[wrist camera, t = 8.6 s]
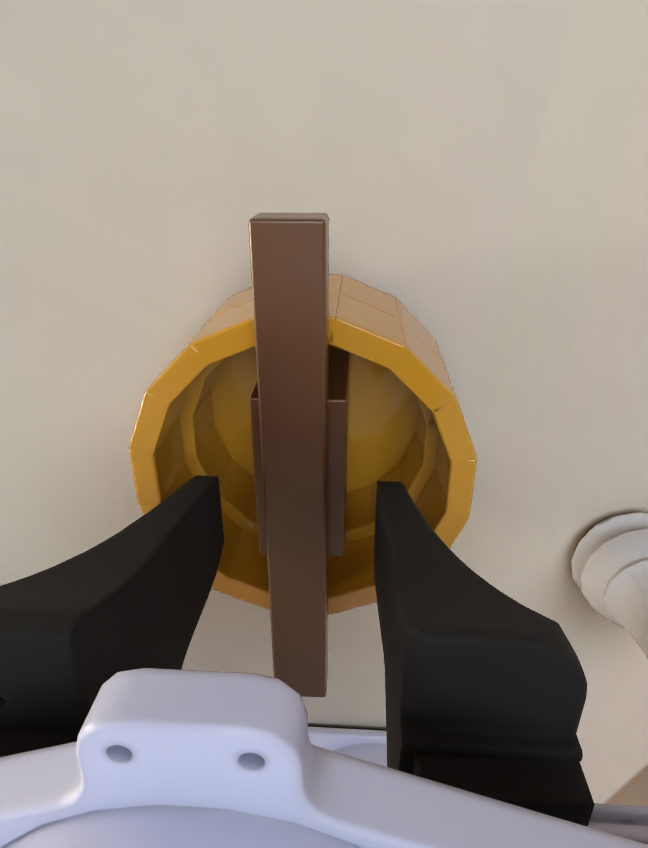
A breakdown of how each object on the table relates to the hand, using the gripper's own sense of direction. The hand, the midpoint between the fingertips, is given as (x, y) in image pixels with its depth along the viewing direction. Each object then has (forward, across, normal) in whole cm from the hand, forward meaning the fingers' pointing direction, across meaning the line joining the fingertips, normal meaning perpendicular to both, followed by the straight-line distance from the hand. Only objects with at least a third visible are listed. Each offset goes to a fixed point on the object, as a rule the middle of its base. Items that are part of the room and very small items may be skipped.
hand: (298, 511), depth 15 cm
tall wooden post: (+5, 0, 0) cm, 5 cm away
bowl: (+7, 0, 0) cm, 7 cm away
